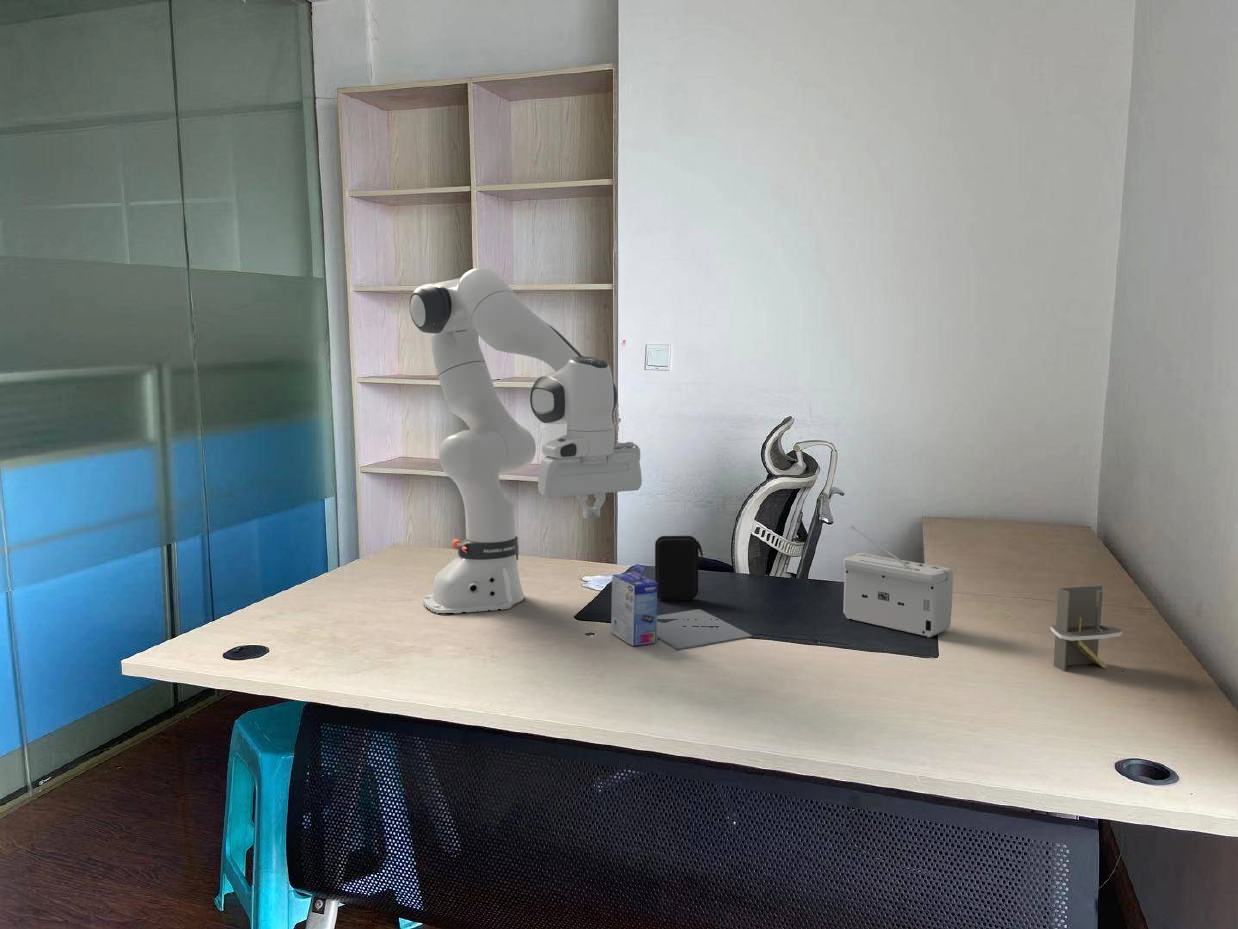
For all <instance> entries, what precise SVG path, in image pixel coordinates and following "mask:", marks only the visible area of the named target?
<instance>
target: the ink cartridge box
mask: <svg viewBox="0 0 1238 929" xmlns="http://www.w3.org/2000/svg"><path fill="white" fill-rule="evenodd" d="M637 569H639V570H640V573H639V572H637ZM645 571H646V567H645V566H644V565H643V566H642V565H640V564H639V563H635V565H634V567H633V569H632V572H624V573H622V572H620V573H616V574H612V576H611V580H612V581H611V614H610V616H611V617H610V618H611V622H610V624H611V625H610V632H611V634H613V635H614V636H616V637H618V638H619V639H620V640H623V641H624V642H625V643H627V644H628V645H630V646H632V647H637V646H643V645H644V646H645V645H652V644H653V645H655V644H657V638H656V635H657V616H658V597H657V582H655V580H652V579H650V578H649V577H648V578H647V577H645V576H643V575H644V572H645Z"/></svg>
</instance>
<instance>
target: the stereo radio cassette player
mask: <svg viewBox="0 0 1238 929" xmlns="http://www.w3.org/2000/svg"><path fill="white" fill-rule="evenodd" d="M851 529H852V530H853V529H854V530H855V531H857V532H858V533H859V534H860V535H862V536H863V537H864V538H866V539H867V540H868V541H869V542H872V544H874V545H875V546H876V547H878V548H879V549H881V550H882V551H883V552H885V553H886V554H888V555H889V556H890V557H886V556H879V555H875V554H873V555H872V554H869V553H862V552H859V553H857V554H852V555H850V556H847V557H844V558H843V567H844V575H843V576H844V579H843V582H844V583H843V584H844V585H843V608H842V609H843V611H842V612H843V614H844V615H845V618H846V619H848V620H849V619H852V620H853V621H856V622H857V621H858V622H862V623H865V624H866V623H867V624H871V625H875V626H880V627H884V628H888V629H892V630H897V631H900V632H901V631H903V632H906V633H909V634H910V633H911V634H916V635H920V636H924V637H926V638H928V639H929V638H932V637H934V636H937V635H939V634H940V633H941V634H942V633H943V632H945V631H946V630H947V629H949V628H950V627H951V623H952V622H951V620H952V609H953V605H952V604H953V587H954V586H953V585H954V571H953V569H951V568H950V567H943V566H938V565H931V564H927V563H920V562H915V561H909V560H902V559H900V558H898V557H897V556H896V555H895V554H893V553H891V551H889V550H887V548H885V547H883V546H881V545H880V544H879V543H877V541H874V540H873V539H871V538H870V537H868V535H866V534H864V533H862V531H860V530H858V529H857V528H855V526H854V525H852V526H851Z"/></svg>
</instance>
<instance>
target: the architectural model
mask: <svg viewBox="0 0 1238 929" xmlns="http://www.w3.org/2000/svg"><path fill="white" fill-rule="evenodd" d="M1102 605H1103V585H1099V584H1098V585H1086V586H1073V587H1059V588H1058V589H1057V605H1056V619H1055V620H1056V621H1055V622H1056V623H1055V624H1051V625H1050V631H1051V632H1052V633H1053V634H1054V635H1055V637H1054V652H1053V653H1054V654H1053V667H1055V668H1057V669H1059V670H1061V671H1063V672H1066V668H1067V666H1075V665H1085V664H1086V665H1087V664H1088V665H1089V664H1096V665H1098V666H1100V667H1102V668H1103V669H1105V668H1107V669H1108V668H1109V667H1108V665H1106V664H1105V663H1104V662H1103V661H1102V660H1101V658H1099V657H1098V654H1099V641H1100V640H1101V639H1110V638H1116V637H1117V638H1118V637H1121V636H1122V633H1123V630H1122V629H1120V628H1118V627H1116V626H1113V625H1111V624H1109V623H1106V622H1105V623H1104V622H1101V621H1102V620H1101V619H1102V607H1103V606H1102Z"/></svg>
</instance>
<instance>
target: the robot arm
mask: <svg viewBox="0 0 1238 929" xmlns="http://www.w3.org/2000/svg"><path fill="white" fill-rule="evenodd" d="M409 313H410V316H411V317H410V318H411V320H412V322H413V324H414V325H415V326H416V328H417V329H418V330H419V331H421V332H422V333H426V334H431V338H430V342H431V343H430V344H431V345H430V346H431V352H432V358H433V361H434V362H433V363H434V367H435V371H436V374H437V377H438V381H439V384H440V387H441V390H442V393H443V396H444V399H445V403H446V405H447V408H448V410H449V411H450V412H451V413H452V414H453V415H454V416H456V417H458V418H459V419H461V420H462V421H463V422H464V423H465V424H466V425H467V427H468V428H469V429H466V430H465V429H464V430H462V431H459V432H456V433H455V434H452V435H450V436H447V437H446V438H444V440H443V441H442V443H441V444H440V447H439V450H438V461H439V464H440V468H441V470H442V471H443V473H444V474H445V475H446V476H447V477H449V478H450V479H451V480H452V481H453V482H454V483H455V484H456V486H457V488H458V490H459V493H460V495H461V499H462V501H463V507H464V516H465V517H464V518H465V538H464V539H462V541H461V540H459V539H457V538H454V539H453V540H452V541H451V543H450V544H451V547H452V548H453V549H455V550H457V554H458V556H456V557H455V558H453V560H451V562H449V563H448V564H447V565H446V566H445V567H443V568H442V569H441V570H440V571H438V572H437V574H436V575H435V578H434V579H433V580H434V581H433V586H432V593H430V594H427V595H425V596H424V597H423V599H422V604H423V603H424V605H425V606H424V605H423V606H424V607H425V608H426V607H427V608H428V609H430V610H431V611H430V610H429V611H430V612H432V611H433V612H432V613H434V612H436V613H435V614H438V613H454V614H463V613H462V612H466V613H476V612H477V611H478V612H487V611H488V610H490V611H499V610H498V609H501V610H508V609H511V608H512V607H513V606H514V605H515V604H518V603H520V602H522V601H523V600H524V599H525V594H524V591H523V587H522V584H521V578H520V572H519V567H518V566H519V564H518V560H519V554H520V553H519V551H520V549H519V546H520V545H519V540H518V539H519V538H518V536H517V533H516V532H517V531H516V530H517V529H516V528H517V526H516V525H517V524H516V505H515V503H514V500H513V498H511V497H509V496H508V495H507V494H505V492H504V491H503V489H502V485H501V482H500V476H502V475H506V474H513V473H516V472H518V471H520V470H522V469H523V468H526V467H527V466H529V465H530V464H531V463H532V462H533V461H534V459H535V456H536V450H537V447H536V441H535V437H534V436H533V435H532V433H531V432H530V431H529V430H528V429H527V428H525V427H524V426H522V425H521V424H519V423H518V422H517V421H516V420H515V419H514V417H513V416H512V415H511V414H510V413H509V411H508V410H507V409H506V407H505V406H504V404H503V402H502V400H501V399H500V397H499V395H498V393H497V390H496V388H495V384H494V382H493V380H492V377H491V374H490V371H489V368H488V366H487V363H486V360H485V357H484V354H483V350H482V349H481V346H480V341H479V337H480V338H481V339H482V340H483V341H484V343H486V344H487V345H488V346H489V347H491V348H492V349H494V350H496V351H499V352H502V353H507V354H514V355H521V356H526V357H530V358H534V359H536V360H540V361H542V362H544V363H546V364H547V365H549V366H550V367H551V368H552V369H553V371H554V372H551V373H549V374H546V375H544V376H539V377H538V378H537V379H535V382H533V385H532V386H531V389H530V395H529V402H530V408H531V411H532V414H534V416H535V418H536V419H537V420H539V422H541V423H543V424H549V425H560V424H562V425H563V424H566V434H563V436H560V437H558V438H555V439H553V440H549V441H547V442H545V443H543V445H542V447H541V452H542V454H543V455H544V457H542V459H541V460H540V462H539V467H538V474H537V475H538V477H537V490H538V493H539V494H540V495H541V496H542V497H544V498H547V499H554V498H563V497H564V498H565V497H573V496H574V497H575V496H576V501H577V502H578V504H579V505H580V507H581V508H582V510H581V511H582V517H583V518H584V519H592V518H600V517H601V508H602V506H603V504H604V503H605V502H606V500H607V499H606V494H608V493H620V492H621V493H622V492H632V491H633V492H634V491H638V490H640V488H641V486H642V485H643V478H642V468H641V464H640V461H641V448H640V447H639V445H637V444H636V443H634V442H632V441H627V442H615V425H614V422H613V413H614V412H615V410H616V408H617V404H618V399H619V398H618V397H619V396H618V390H617V387H616V384H615V382H614V381H613V379H614V378H613V374H612V369H611V367H610V364H609V363H608V362H607V361H606V360H604V359H601V358H597V357H592V356H583V355H582V354H581V353H580V352H579V351H578V350H577V349H576V348H575V347H574V345H572V344H571V343H570V342H569V341H568V339H566V338H565V337H564V336H563V335H562V334H561V333H560V332H559V331H558V330H557V329H555V327H553V326H552V325H550V324H549V323H548V322H547V321H544V320H543V319H542V318H540V317H539V316H538V315H536V314H535V313H534V312H533V311H532V310H531V309H530V308H529V307H528V306H527V305H526V304H524V302H523V301H522V300H521V299H520V298H519V296H518V295H517V294H516V293H515V292H514V290H513V289H512V288H511V287H510V286H509V285H508V283H506V281H505V280H503V279H502V278H501V277H500V276H499V275H498V274H496V273H495V272H494V271H492V270H491V269H489V268H486V267H476V268H472V269H470V270H468V271H466V272H464V274H463V275H462V276H461V277H457V278H454V279H451V280H450V279H449V280H443V281H440V282H436V283H432V282H431V283H430V282H429V283H426V284H423V285H420V286H418V287H416V288H415V289H414V290H413V292H412V293H411V296H410V298H409ZM589 495H594V496H593V497H594V498H595V501H594V503H593V505H592V506H588V504H587V502H586V501H588V499H589ZM427 608H426V609H427ZM428 609H427V610H428Z"/></svg>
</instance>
